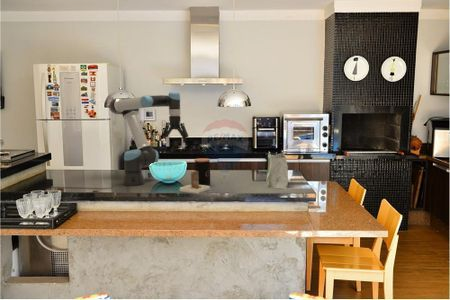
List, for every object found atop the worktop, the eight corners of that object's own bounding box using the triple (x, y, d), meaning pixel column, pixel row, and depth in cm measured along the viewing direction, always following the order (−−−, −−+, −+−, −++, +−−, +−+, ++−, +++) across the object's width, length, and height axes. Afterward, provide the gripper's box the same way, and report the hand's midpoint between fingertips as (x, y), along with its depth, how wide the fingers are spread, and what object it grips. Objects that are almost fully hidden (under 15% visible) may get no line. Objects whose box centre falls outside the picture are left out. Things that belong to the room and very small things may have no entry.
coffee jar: (208, 187, 296) (208, 160, 294) (193, 186, 298) (192, 160, 296) (211, 184, 306) (211, 158, 304) (197, 183, 309) (196, 158, 306)
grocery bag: (265, 178, 325) (265, 147, 322) (284, 178, 324) (284, 147, 321) (267, 188, 293) (267, 153, 290) (288, 188, 292) (288, 153, 289)
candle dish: (179, 191, 284) (179, 187, 284) (192, 187, 296) (192, 183, 295) (197, 194, 277) (197, 189, 276) (209, 189, 288) (209, 185, 288)
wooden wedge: (191, 190, 285) (191, 171, 283) (195, 188, 289) (195, 170, 287) (194, 190, 283) (194, 172, 282) (198, 189, 287) (198, 171, 286)
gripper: (156, 115, 299) (157, 146, 302) (186, 116, 286) (186, 148, 289) (163, 114, 305) (164, 145, 308) (193, 115, 292) (193, 147, 295)
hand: (175, 147), depth 298 cm, fingers open, 13 cm apart
